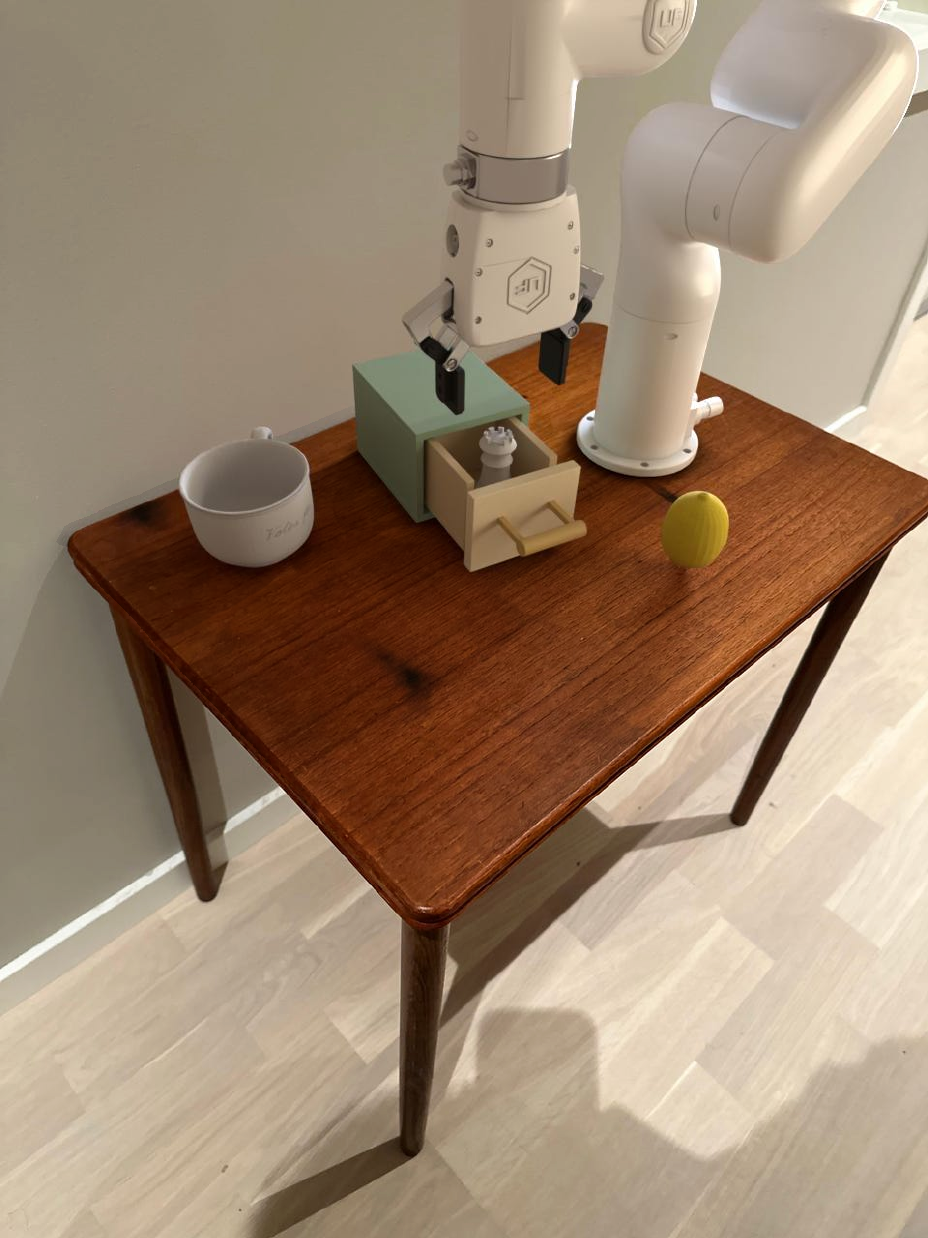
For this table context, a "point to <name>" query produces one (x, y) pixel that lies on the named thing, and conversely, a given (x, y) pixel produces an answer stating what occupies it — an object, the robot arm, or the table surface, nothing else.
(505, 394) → the cabinet
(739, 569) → the table surface
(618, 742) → the table surface
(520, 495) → the drawer
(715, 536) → the lemon
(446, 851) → the table surface
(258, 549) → the teacup
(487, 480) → the rook chess piece
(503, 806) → the table surface
